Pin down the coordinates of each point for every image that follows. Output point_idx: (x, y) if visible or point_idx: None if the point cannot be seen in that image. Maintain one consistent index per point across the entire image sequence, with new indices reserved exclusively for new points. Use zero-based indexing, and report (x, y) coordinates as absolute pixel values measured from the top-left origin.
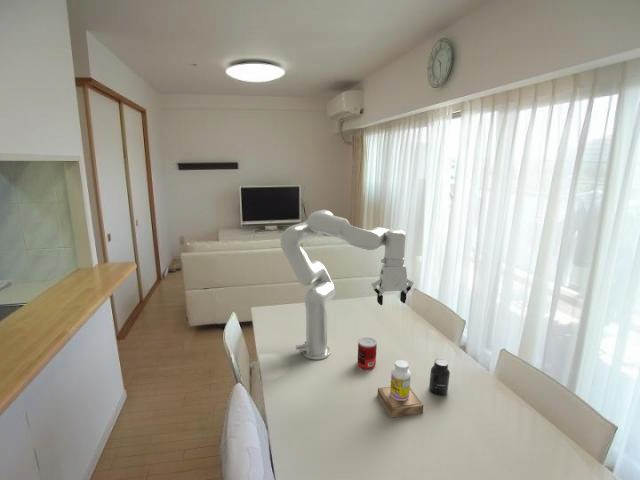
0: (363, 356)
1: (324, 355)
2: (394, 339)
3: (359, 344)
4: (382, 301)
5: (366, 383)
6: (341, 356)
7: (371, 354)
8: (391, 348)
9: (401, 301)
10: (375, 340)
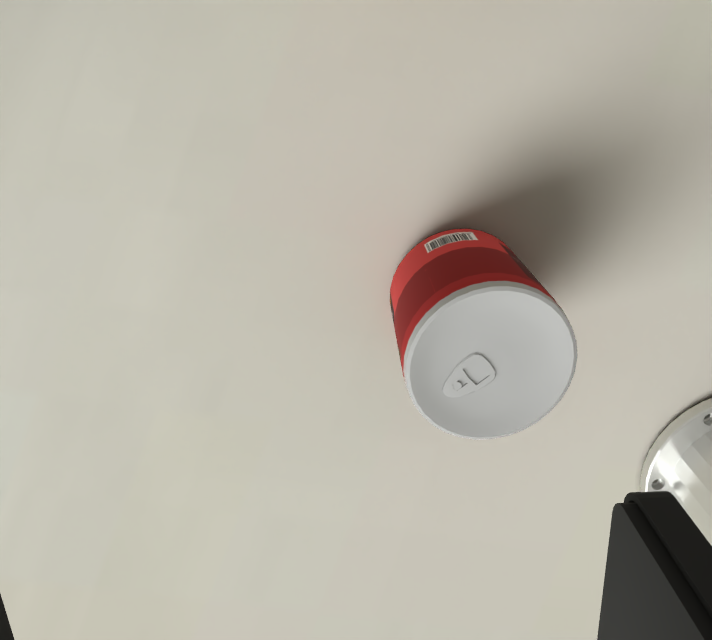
0: (525, 269)
1: (706, 421)
2: (146, 551)
3: (574, 343)
4: (666, 567)
5: (539, 66)
6: (585, 407)
7: (467, 261)
8: (204, 453)
9: (5, 623)
10: (410, 376)
